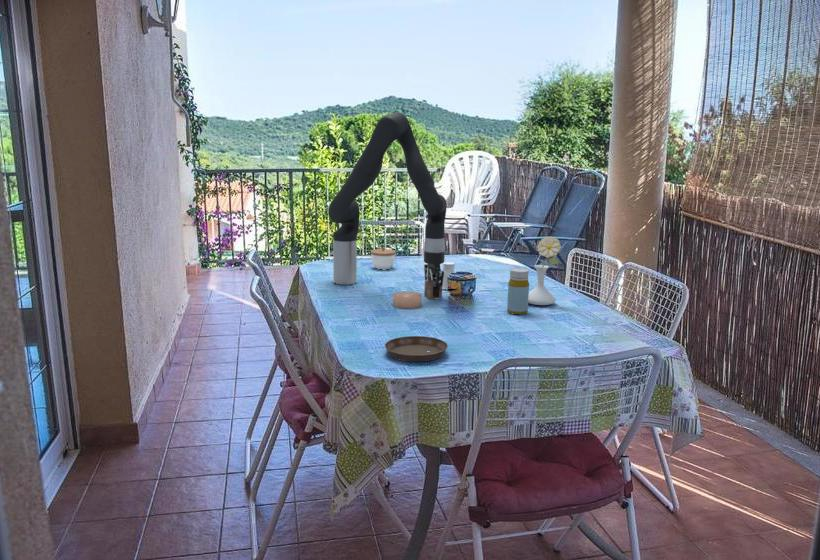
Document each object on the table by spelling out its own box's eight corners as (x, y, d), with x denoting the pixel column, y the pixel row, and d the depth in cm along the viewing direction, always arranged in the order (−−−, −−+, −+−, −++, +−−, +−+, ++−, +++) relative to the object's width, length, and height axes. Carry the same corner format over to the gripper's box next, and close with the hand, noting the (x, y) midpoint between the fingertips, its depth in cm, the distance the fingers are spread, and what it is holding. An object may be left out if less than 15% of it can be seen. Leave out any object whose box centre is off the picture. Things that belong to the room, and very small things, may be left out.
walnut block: (424, 296, 274) (424, 280, 273) (436, 295, 276) (437, 279, 274) (429, 299, 269) (429, 283, 268) (441, 298, 271) (442, 282, 270)
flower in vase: (517, 303, 266) (520, 235, 260) (534, 298, 274) (538, 231, 269) (548, 310, 257) (552, 239, 252) (565, 304, 265) (570, 236, 260)
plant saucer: (374, 360, 203) (374, 349, 202) (398, 342, 219) (398, 332, 218) (435, 368, 197) (435, 358, 196) (455, 350, 213) (455, 340, 212)
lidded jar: (394, 271, 316) (395, 249, 314) (370, 270, 316) (370, 249, 314) (395, 266, 326) (396, 245, 324) (371, 265, 327) (371, 245, 325)
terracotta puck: (389, 303, 264) (389, 292, 263) (415, 301, 267) (415, 290, 266) (398, 310, 255) (398, 298, 254) (425, 308, 258) (425, 296, 257)
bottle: (515, 308, 258) (517, 267, 255) (531, 312, 254) (534, 270, 250) (502, 312, 254) (504, 269, 250) (519, 316, 249) (521, 273, 245)
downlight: (455, 291, 283) (456, 265, 281) (437, 290, 284) (438, 264, 282) (458, 287, 290) (459, 262, 289) (440, 286, 292) (441, 261, 290)
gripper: (417, 246, 274) (416, 291, 278) (432, 253, 261) (430, 300, 264) (436, 246, 276) (435, 290, 280) (451, 252, 263) (450, 298, 267)
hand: (433, 294), depth 272 cm, fingers open, 5 cm apart
